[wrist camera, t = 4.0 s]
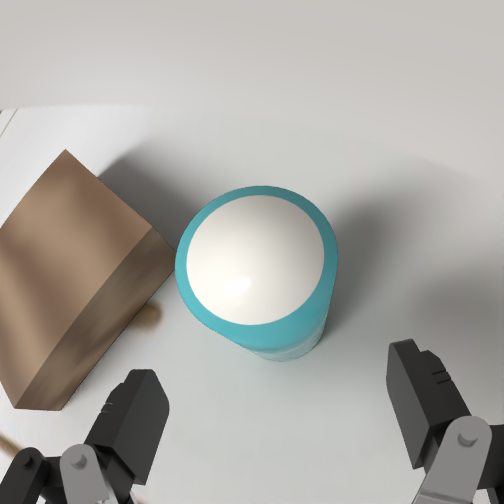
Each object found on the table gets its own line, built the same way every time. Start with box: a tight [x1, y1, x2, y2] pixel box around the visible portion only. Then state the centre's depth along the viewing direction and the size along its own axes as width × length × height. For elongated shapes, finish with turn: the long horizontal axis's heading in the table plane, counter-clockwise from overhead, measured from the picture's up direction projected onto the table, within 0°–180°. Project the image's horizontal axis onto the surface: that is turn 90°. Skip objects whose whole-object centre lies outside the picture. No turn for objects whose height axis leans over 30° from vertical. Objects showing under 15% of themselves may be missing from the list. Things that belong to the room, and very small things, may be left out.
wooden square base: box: [0, 149, 177, 411], centre depth 21 cm, size 16×14×5 cm
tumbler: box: [175, 186, 338, 362], centre depth 15 cm, size 6×6×10 cm
